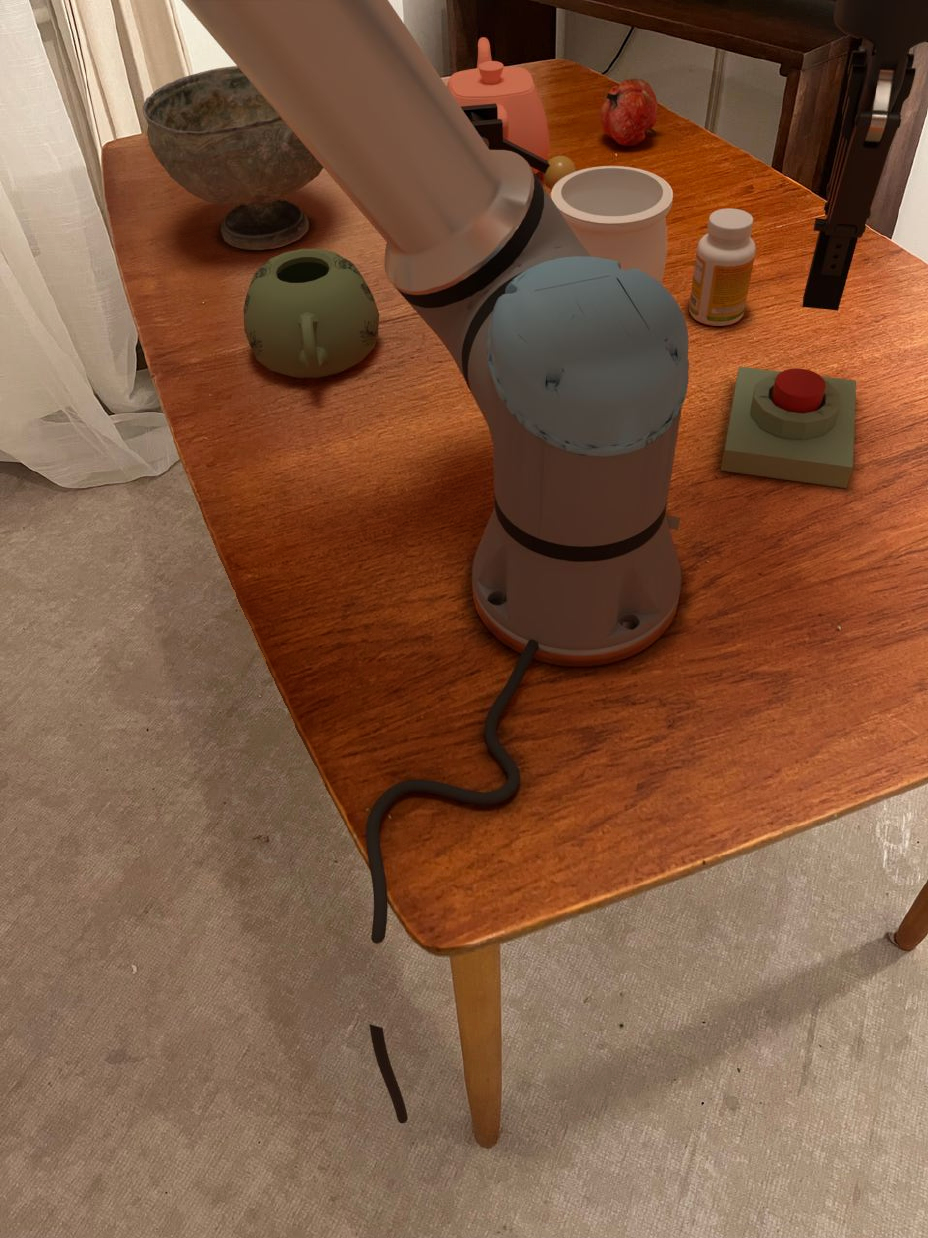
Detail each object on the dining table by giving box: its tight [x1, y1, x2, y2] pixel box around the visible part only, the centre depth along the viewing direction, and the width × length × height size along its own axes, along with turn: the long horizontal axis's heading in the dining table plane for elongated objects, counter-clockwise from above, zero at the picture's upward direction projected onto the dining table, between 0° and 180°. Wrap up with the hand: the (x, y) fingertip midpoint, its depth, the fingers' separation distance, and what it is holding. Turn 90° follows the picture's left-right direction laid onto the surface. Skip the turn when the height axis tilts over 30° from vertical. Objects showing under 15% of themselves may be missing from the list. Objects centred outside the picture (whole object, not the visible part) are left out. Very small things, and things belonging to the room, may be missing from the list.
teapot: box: [446, 36, 550, 175], centre depth 116 cm, size 13×20×12 cm, turn 5°
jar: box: [550, 165, 674, 284], centre depth 88 cm, size 11×10×15 cm
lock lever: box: [468, 112, 577, 191], centre depth 104 cm, size 13×4×4 cm, turn 96°
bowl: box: [142, 65, 324, 251], centre depth 107 cm, size 20×19×15 cm
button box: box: [720, 366, 857, 489], centre depth 82 cm, size 12×10×4 cm
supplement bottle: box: [688, 207, 757, 327], centre depth 93 cm, size 5×5×10 cm
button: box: [772, 367, 826, 414], centre depth 81 cm, size 4×4×2 cm
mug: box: [243, 248, 380, 379], centre depth 92 cm, size 16×13×9 cm
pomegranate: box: [600, 78, 658, 147], centre depth 122 cm, size 7×7×10 cm
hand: (820, 303), depth 78 cm, fingers closed
